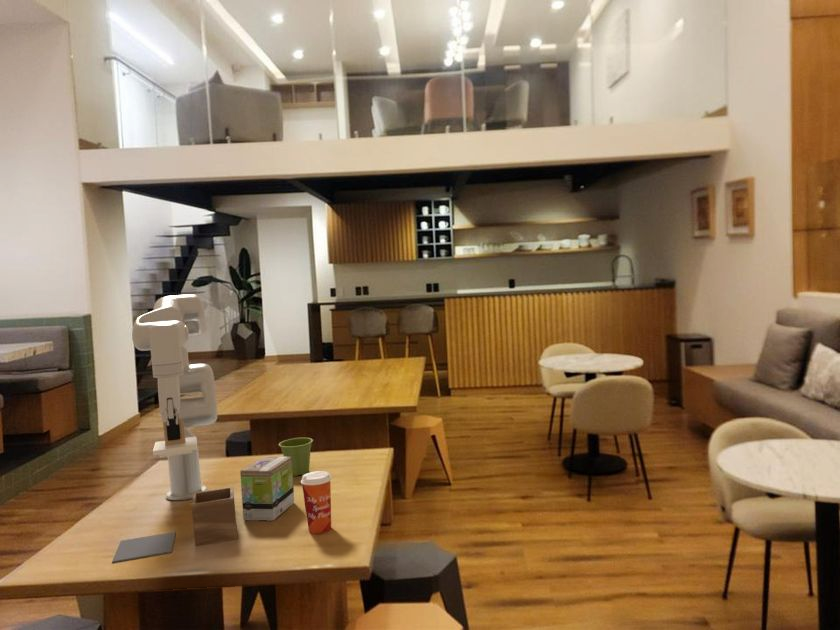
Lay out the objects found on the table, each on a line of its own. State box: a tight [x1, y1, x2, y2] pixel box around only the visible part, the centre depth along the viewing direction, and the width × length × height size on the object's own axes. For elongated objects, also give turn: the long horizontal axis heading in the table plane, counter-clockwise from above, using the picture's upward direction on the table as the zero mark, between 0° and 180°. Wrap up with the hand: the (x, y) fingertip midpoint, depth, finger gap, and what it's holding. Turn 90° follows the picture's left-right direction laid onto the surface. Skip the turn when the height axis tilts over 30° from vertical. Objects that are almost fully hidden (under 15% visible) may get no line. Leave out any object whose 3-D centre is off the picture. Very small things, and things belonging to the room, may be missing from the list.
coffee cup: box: [300, 470, 332, 535], centre depth 176 cm, size 8×8×15 cm
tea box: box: [239, 456, 295, 522], centre depth 192 cm, size 15×10×15 cm, turn 168°
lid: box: [152, 419, 198, 458], centre depth 173 cm, size 11×11×8 cm
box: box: [191, 486, 238, 547], centre depth 177 cm, size 11×11×11 cm
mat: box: [111, 531, 176, 564], centre depth 172 cm, size 14×14×1 cm
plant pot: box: [278, 437, 314, 477], centre depth 229 cm, size 12×12×11 cm
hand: (174, 438), depth 173 cm, fingers closed on lid
